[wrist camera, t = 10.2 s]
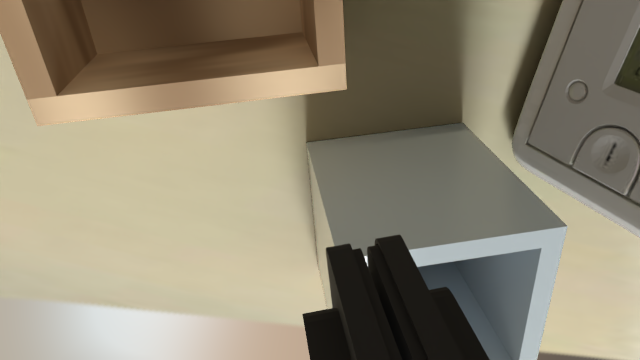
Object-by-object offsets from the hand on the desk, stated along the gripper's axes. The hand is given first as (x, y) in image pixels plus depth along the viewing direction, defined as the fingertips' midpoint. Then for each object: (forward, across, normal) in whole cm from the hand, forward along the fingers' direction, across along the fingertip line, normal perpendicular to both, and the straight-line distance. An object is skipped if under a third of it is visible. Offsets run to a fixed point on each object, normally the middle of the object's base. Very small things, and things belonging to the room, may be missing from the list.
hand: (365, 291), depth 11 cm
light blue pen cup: (+11, -3, +5) cm, 12 cm away
